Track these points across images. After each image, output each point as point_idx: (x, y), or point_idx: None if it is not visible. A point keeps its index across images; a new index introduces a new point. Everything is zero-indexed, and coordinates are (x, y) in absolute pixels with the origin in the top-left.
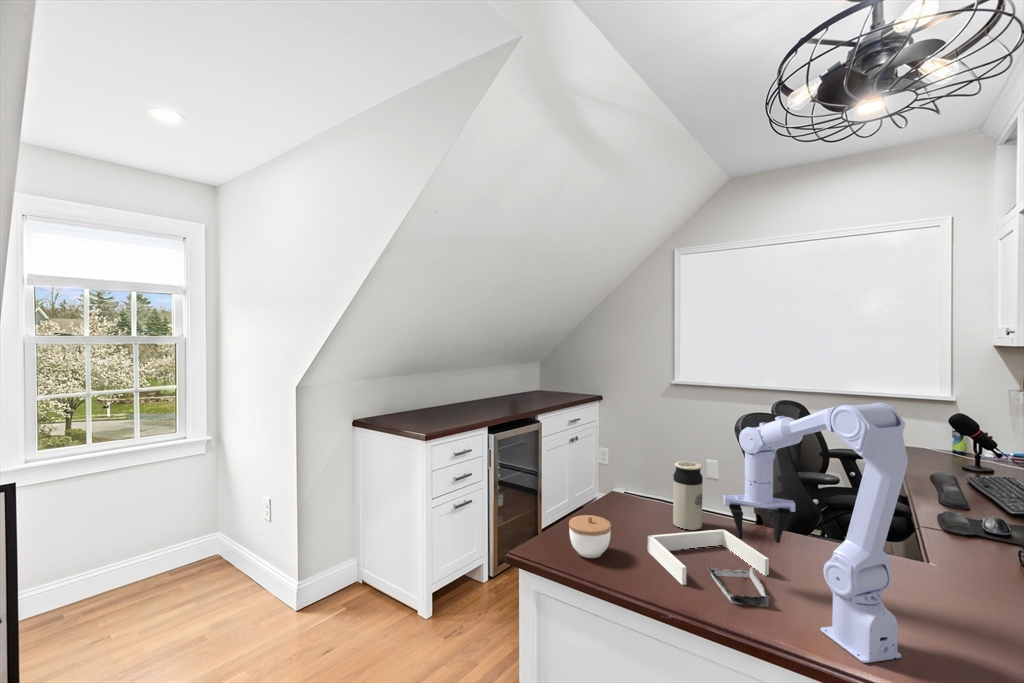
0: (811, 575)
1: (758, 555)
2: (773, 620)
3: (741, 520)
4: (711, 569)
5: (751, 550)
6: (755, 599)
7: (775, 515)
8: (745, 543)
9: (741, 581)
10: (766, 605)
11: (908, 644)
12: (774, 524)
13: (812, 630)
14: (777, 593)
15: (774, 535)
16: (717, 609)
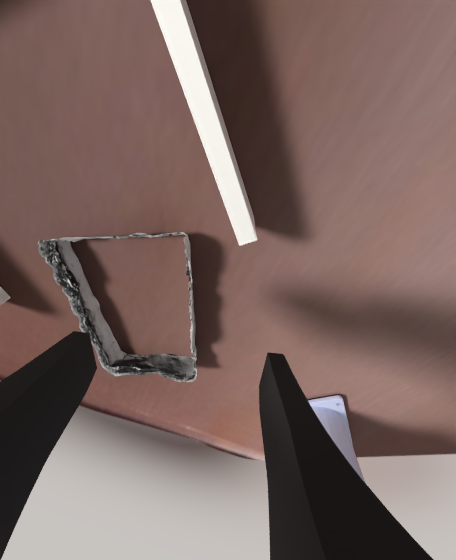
0: (418, 189)
1: (225, 206)
2: (193, 389)
3: (14, 513)
4: (55, 263)
5: (207, 154)
6: (167, 366)
7: (297, 546)
8: (195, 51)
9: (157, 262)
10: (192, 360)
11: (394, 420)
12: (287, 423)
13: (252, 405)
14: (239, 308)
15: (268, 376)
16: None
